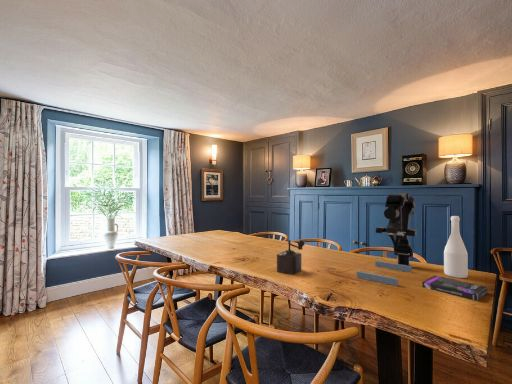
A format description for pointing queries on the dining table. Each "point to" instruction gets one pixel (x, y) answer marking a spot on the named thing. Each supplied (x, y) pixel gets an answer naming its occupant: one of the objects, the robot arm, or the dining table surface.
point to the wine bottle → (455, 253)
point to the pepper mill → (290, 260)
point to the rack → (383, 278)
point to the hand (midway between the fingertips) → (395, 247)
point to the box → (456, 287)
